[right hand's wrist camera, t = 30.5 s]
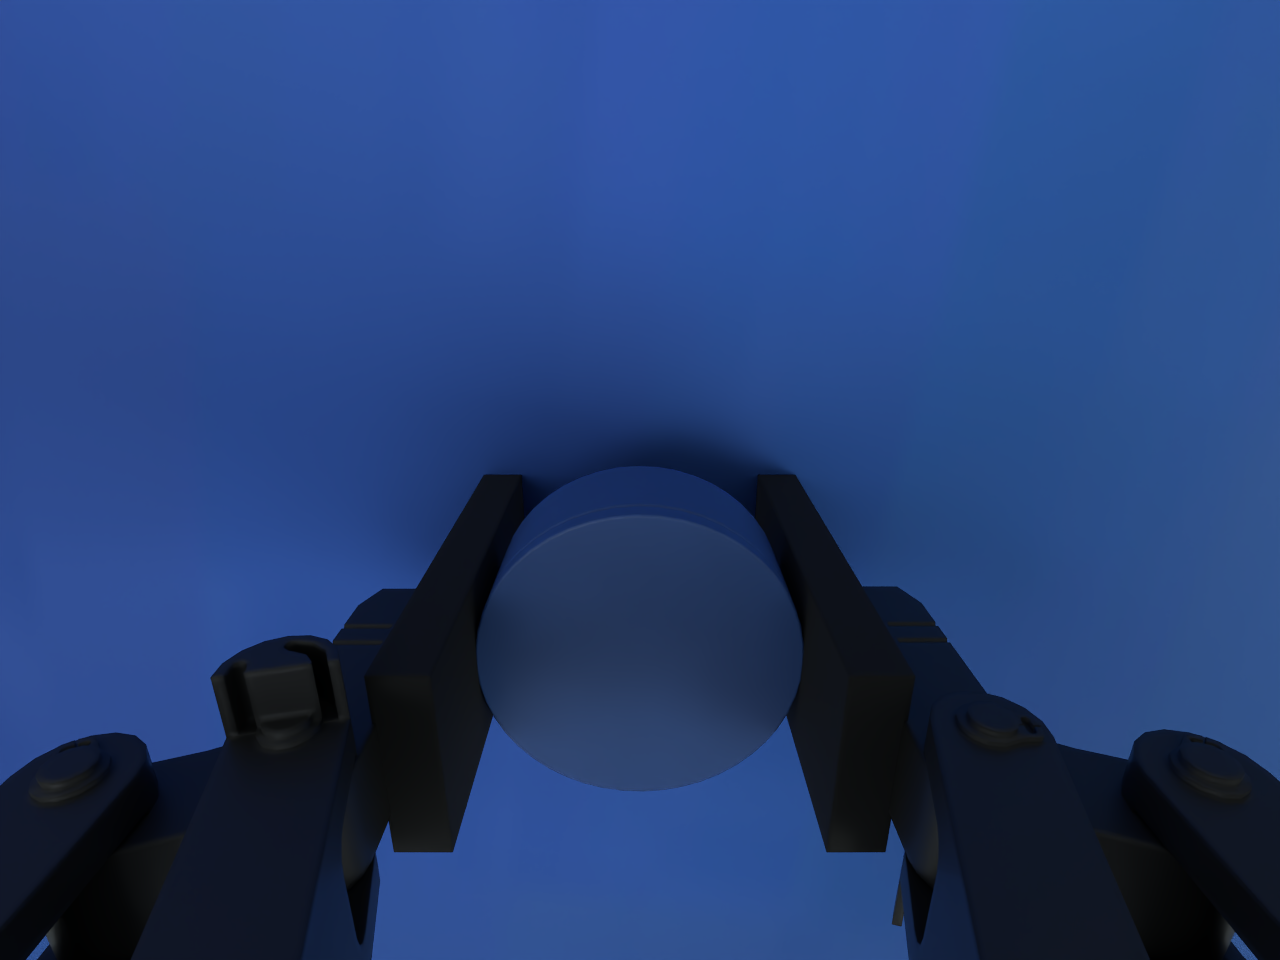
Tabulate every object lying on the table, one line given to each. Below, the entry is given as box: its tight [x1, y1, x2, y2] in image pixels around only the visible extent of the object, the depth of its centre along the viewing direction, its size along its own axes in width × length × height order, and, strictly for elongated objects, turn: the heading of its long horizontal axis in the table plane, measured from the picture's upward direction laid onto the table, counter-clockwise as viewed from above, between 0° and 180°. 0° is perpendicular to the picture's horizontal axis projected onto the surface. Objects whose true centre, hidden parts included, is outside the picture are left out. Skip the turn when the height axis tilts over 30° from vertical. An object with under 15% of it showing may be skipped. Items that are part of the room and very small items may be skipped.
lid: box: [476, 466, 804, 791], centre depth 11 cm, size 5×5×2 cm
